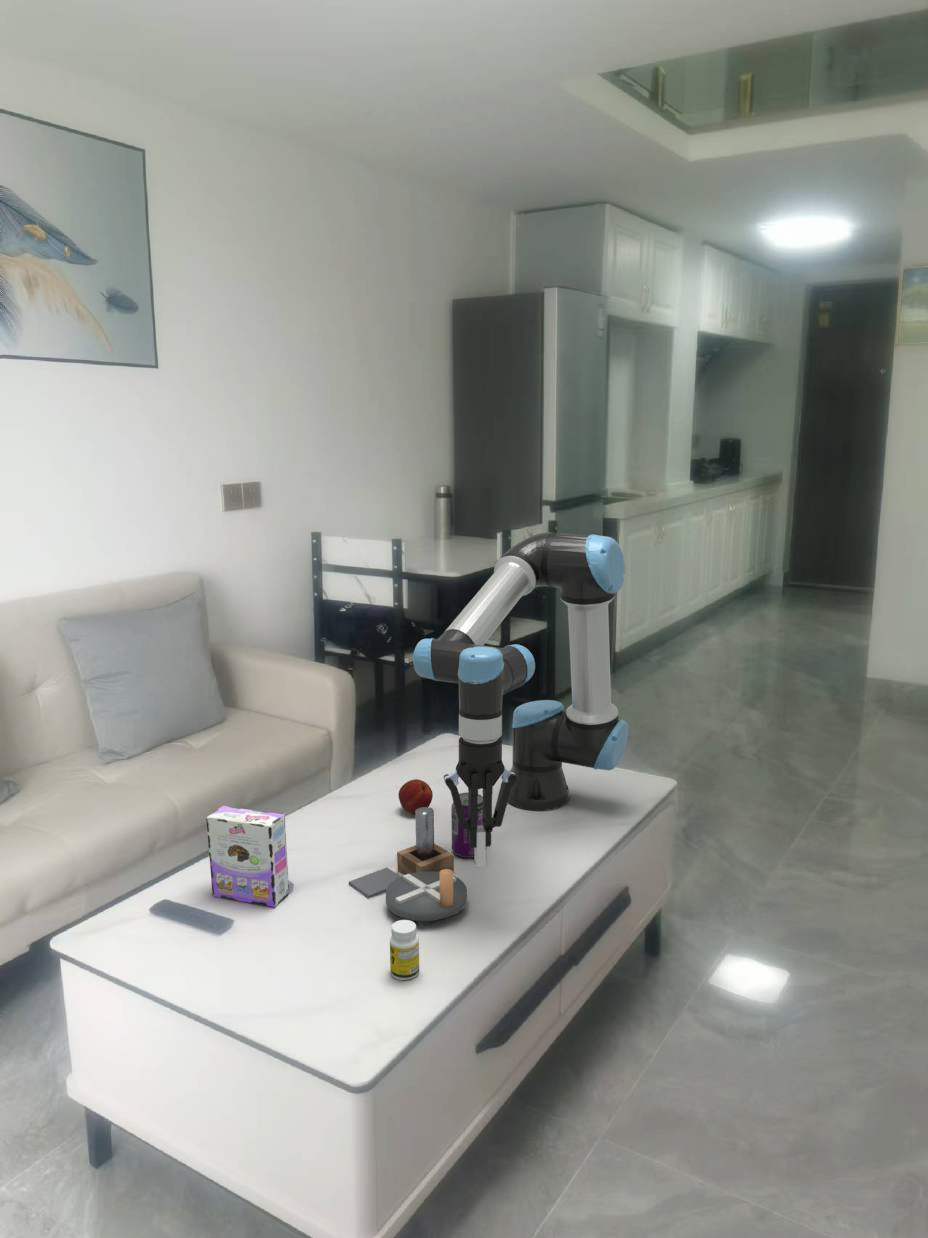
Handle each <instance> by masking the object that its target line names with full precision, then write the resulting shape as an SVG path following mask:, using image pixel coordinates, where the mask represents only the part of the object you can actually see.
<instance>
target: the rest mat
mask: <svg viewBox="0 0 928 1238" xmlns="http://www.w3.org/2000/svg"><path fill="white" fill-rule="evenodd" d="M399 877H401V875H399V874H398V873H397V872H395V871H393V870H392V869H390V868H389V867H385V868H382V869H379V870H376V871H373V872H371V873H368V874H366V875H362V876H360V877H358V878H355V879H351V880H349V881H348V885H349V886H350V887H352V888H353V889H354V890H356V891H358V892H359V893H360V894H361V895H362V896H364V897H366V898H367V899H371V898H374V897H377V896H379V895H383V894H384V893H386V889H387V887H388V885H389V884H390V883H391V882H392V881H394V880H395V879H397V878H399Z"/></svg>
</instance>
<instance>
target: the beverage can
mask: <svg viewBox="0 0 928 1238" xmlns="http://www.w3.org/2000/svg"><path fill="white" fill-rule="evenodd" d="M459 796H460V799H461V803H462V807H463V811H464V815H465V819H467V820H468V791H467V792H461V793H459ZM450 817H451V851H452V853H453V854H455V855H457V856H460V857H462V858H468V859H469V858H474V848H471V846H470V844H469V830H467V829H461V827H460V824H459V822H458V818H457V814H456V810H455V806H454V803H453V802H452V804H451V816H450ZM477 826H483V794H479V793H478V801H477ZM486 850H487V847H485V851H486Z"/></svg>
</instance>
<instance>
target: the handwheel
mask: <svg viewBox="0 0 928 1238" xmlns="http://www.w3.org/2000/svg"><path fill="white" fill-rule="evenodd" d="M400 876H401V875H400ZM467 902H468V887H467V885H466V884H465V882H464V881H463V880H462V879H460V878H459V877H457V876H454V873H453V871H452V870H450V869H443V870H441V871H440V872H434V871H423V872H415V873H410V874H406V875H404V874H402V876H401V877H399V878H397V879H395V880H394V881H392V882H391V883H390V884H389V885H388V887H387V889H386V892H385V904H386V907H387V909H388V910H389V911H390V912H391V913H392V914H395V915H396V916H399V917H401V918H404V919H406V920H410V921H414V920H420V921H429V920H434V921H436V920H437V921H438V920H441V919H442V920H443V919H446V918H449V917H451V916H454V915H456V914H457V913H459V912H460V911H462V910H463V908H465V906H466V904H467Z"/></svg>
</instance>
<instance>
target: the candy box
mask: <svg viewBox="0 0 928 1238" xmlns="http://www.w3.org/2000/svg"><path fill="white" fill-rule="evenodd" d="M205 820H206V830H207V843H208V844H207V845H208V855H209V868H210V879H211V880H210V881H211V892H212V893H211V895H212V896H213V897H214V898H219V899H225V900H232V901H238V902H242V903H249V904H255V905H259V906H265V907H266V906H267V907H273V908H276V907H277V906H278V905H279V904H280V903H281V902H282V901H283V900H284V899H285V898H286V897H285V893H286V890H287V889H288V887H289V888H290V886H289V885H290V884H289V868H288V867H289V865H288V851H287V849H288V847H287V832H286V831H287V830H286V815H285V814H284V813H283V814H282V813H275V812H267V811H261V810H255V809H253V810H252V809H245V808H239V807H233V806H227V805H222V806H221V807H219V808H218V809H216V810H214V811H213V812H212V813H211V814H209V815H208V816H207V817H206V818H205Z"/></svg>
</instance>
